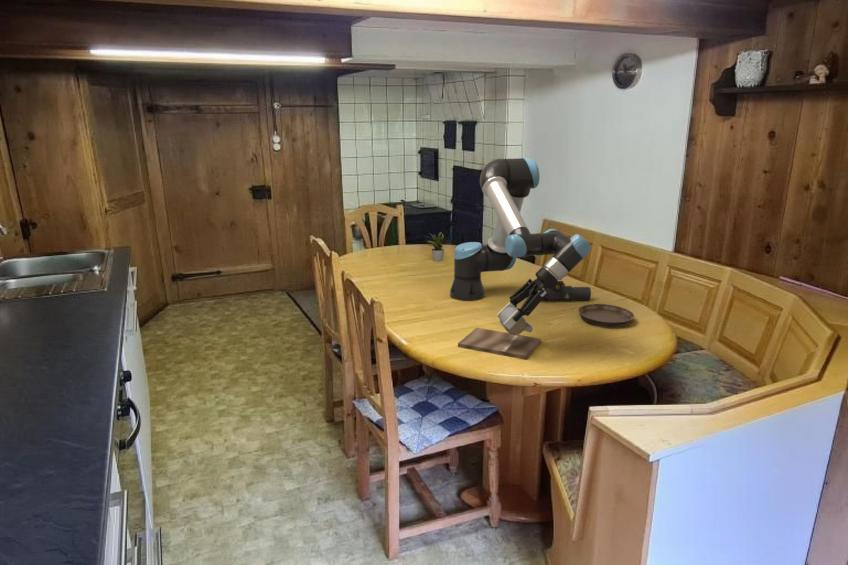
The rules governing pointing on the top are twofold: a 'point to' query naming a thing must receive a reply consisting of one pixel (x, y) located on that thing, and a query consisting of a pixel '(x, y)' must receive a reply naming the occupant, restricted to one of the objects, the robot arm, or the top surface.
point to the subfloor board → (500, 343)
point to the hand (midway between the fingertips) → (502, 322)
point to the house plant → (437, 247)
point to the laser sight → (567, 293)
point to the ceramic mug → (518, 326)
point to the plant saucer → (605, 315)
